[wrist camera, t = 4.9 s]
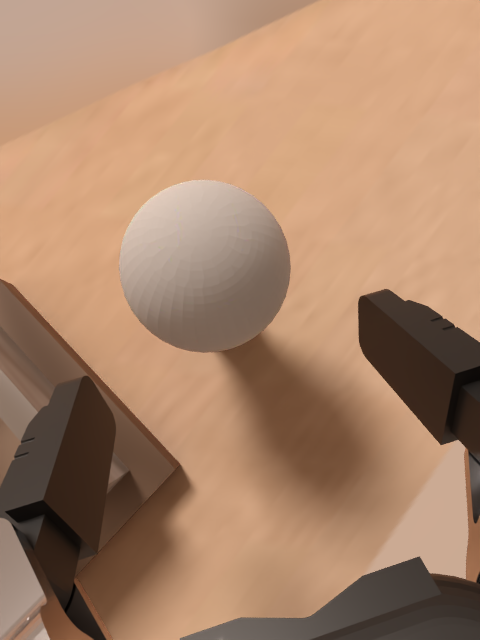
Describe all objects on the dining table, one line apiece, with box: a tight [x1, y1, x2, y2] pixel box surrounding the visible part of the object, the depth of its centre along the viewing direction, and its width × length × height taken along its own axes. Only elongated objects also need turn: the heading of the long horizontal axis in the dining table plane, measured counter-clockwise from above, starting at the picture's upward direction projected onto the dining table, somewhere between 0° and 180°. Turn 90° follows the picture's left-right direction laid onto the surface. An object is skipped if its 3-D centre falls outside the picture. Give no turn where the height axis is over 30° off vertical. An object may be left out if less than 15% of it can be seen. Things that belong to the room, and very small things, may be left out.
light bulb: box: [119, 180, 290, 353], centre depth 14 cm, size 6×6×10 cm
